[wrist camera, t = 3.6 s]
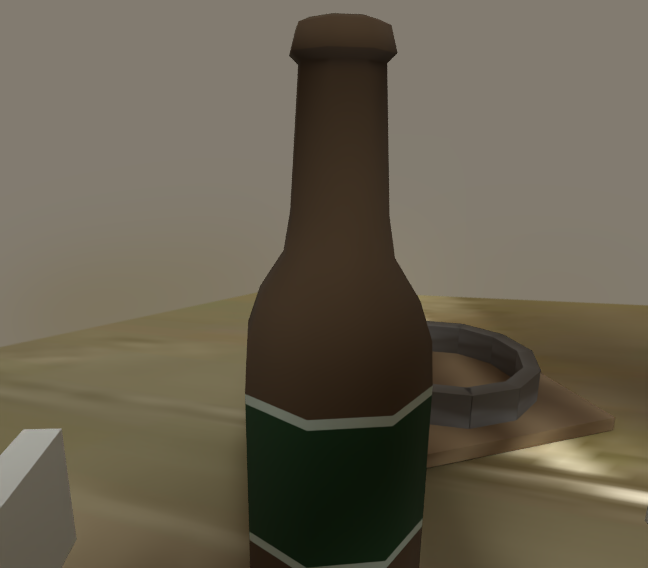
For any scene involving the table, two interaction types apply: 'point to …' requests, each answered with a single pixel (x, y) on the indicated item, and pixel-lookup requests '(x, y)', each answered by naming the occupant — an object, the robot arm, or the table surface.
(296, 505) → the beer bottle
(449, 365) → the collar stand
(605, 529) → the table surface
